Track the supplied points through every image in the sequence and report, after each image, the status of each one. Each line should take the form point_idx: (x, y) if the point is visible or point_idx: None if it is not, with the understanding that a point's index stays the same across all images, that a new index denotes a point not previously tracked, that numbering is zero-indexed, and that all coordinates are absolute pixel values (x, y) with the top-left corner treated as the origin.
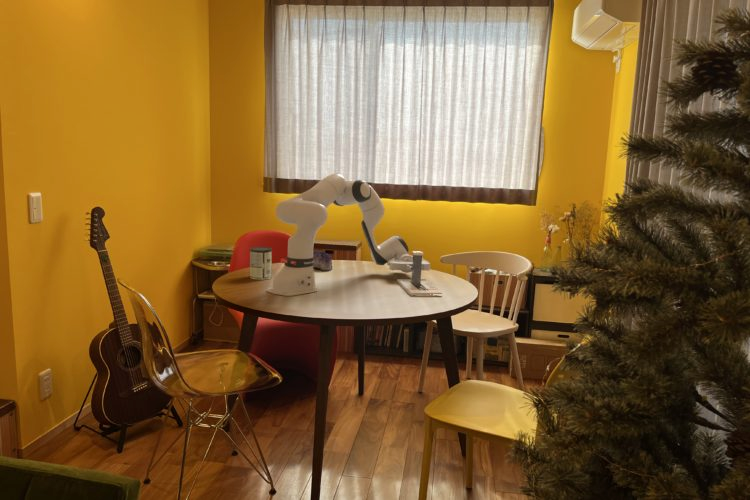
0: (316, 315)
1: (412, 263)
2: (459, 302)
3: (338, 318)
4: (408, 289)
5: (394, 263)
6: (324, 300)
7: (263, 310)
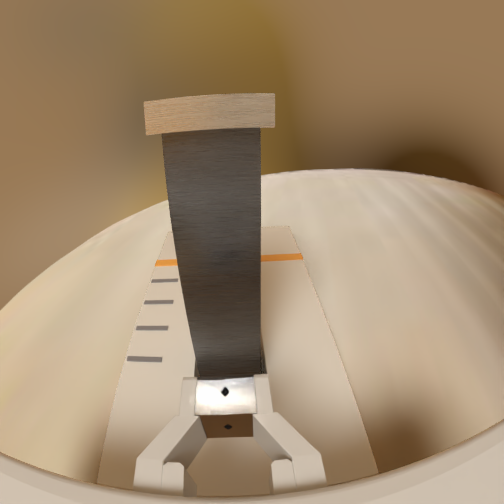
0: (434, 179)
1: (260, 240)
2: (152, 213)
3: (402, 172)
4: (296, 252)
5: (496, 424)
6: (477, 214)
7: (497, 193)
